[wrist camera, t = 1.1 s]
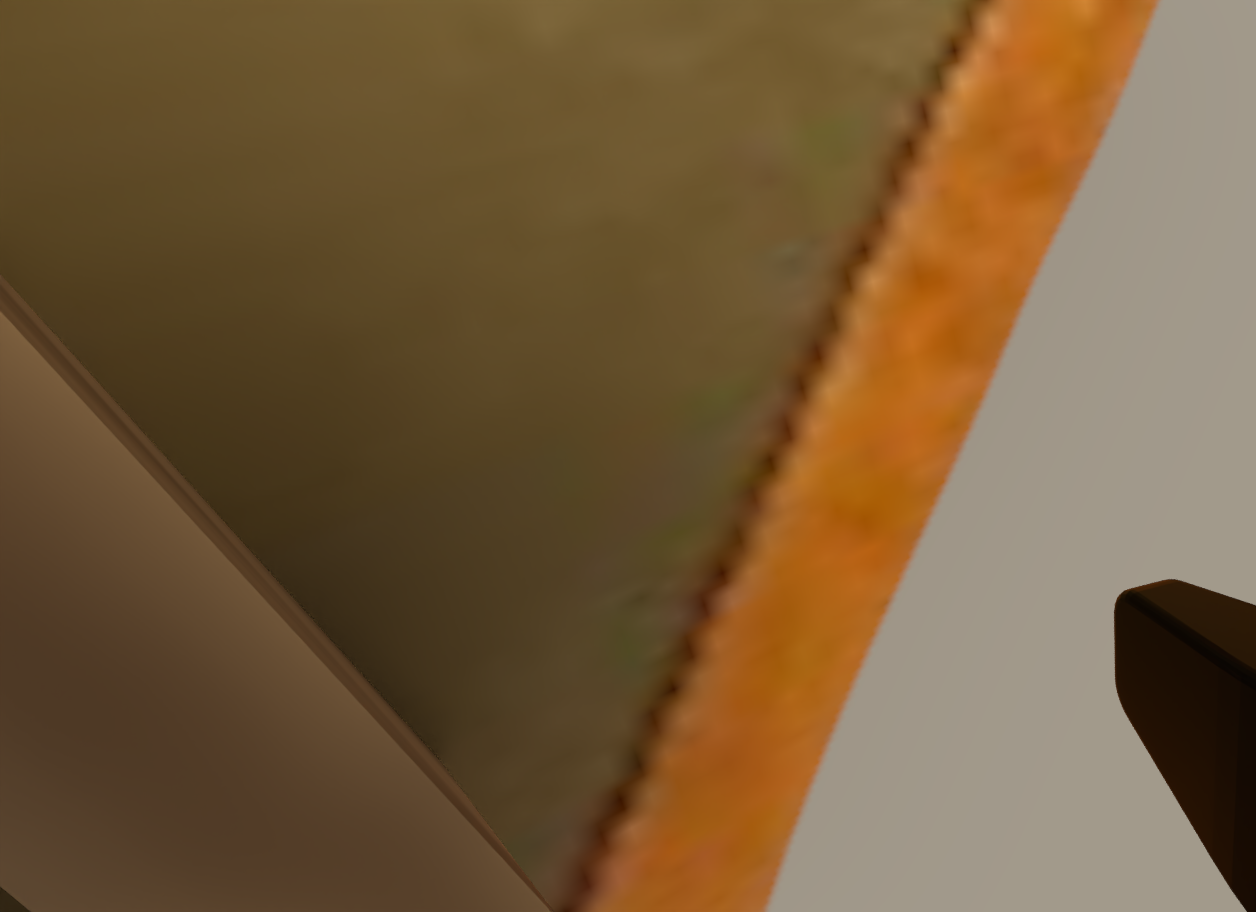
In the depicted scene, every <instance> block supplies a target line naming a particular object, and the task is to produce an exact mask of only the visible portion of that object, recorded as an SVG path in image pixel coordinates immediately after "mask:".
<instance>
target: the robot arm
mask: <svg viewBox="0 0 1256 912" xmlns="http://www.w3.org/2000/svg"><path fill="white" fill-rule="evenodd" d="M1114 636H1115V638H1114V639H1115V682H1116V689H1117V693H1118V697H1119V700H1120V702H1121V705H1122V707H1123V710H1124V712H1125V713H1126V715H1127V717H1128V718H1129V721H1130V722H1131V724H1132V726H1133V727H1134V729H1135V730H1136V732H1137V734H1138V736H1139V737H1140V739H1141V741H1142V742H1143V744H1144V746H1145V747H1146V749H1147V751H1148V753H1149V754H1150V756H1151V758H1152V759H1153V761H1154V762H1155V764H1156V766H1157V768H1158V769H1159V771H1160V773H1161V774H1162V776H1163V778H1164V779H1165V781H1166V783H1167V784H1168V786H1169V788H1170V789H1171V791H1172V793H1173V795H1174V796H1175V798H1176V799H1177V801H1178V803H1179V805H1180V806H1181V808H1182V810H1183V811H1184V813H1185V815H1186V816H1187V818H1188V820H1189V821H1190V823H1191V825H1192V826H1193V828H1194V830H1195V832H1196V833H1197V834H1198V836H1199V838H1200V840H1201V842H1202V843H1203V845H1204V847H1205V848H1206V850H1207V852H1208V853H1209V855H1210V857H1211V858H1212V860H1213V862H1214V863H1215V865H1216V866H1217V868H1218V869H1219V871H1220V873H1221V874H1222V876H1223V877H1224V879H1225V881H1226V882H1227V884H1228V885H1229V887H1230V889H1231V890H1232V892H1233V893H1234V894H1235V895H1236V897H1237V899H1238V900H1239V901H1240V903H1241V904H1242V905H1243V907H1244V908H1245V910H1246V911H1247V912H1256V605H1253V604H1250V603H1247V602H1244V601H1241V600H1238V599H1235V598H1232V597H1229V596H1226V595H1223V594H1220V593H1217V592H1214V591H1211V590H1208V589H1205V588H1202V587H1199V586H1195V585H1192V584H1189V583H1186V582H1183V581H1180V580H1175V579H1168V580H1162V581H1159V582H1154V583H1150V584H1147V585H1143V586H1139V587H1135V588H1131V589H1127V590H1125V591H1123V592H1122V593H1121V594H1120V595H1119V596H1118V598H1117V600H1116V603H1115V610H1114Z"/></svg>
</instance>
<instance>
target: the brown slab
mask: <svg viewBox="0 0 1256 912" xmlns="http://www.w3.org/2000/svg"><path fill="white" fill-rule="evenodd" d="M0 887H1V888H3V889H4V890H5V891H6V892H8V893H9V894H10V895H11V896H12V897H14V898H15V899H16V900H17V901H18V902H20V903H21V904H22V905H23V906H24V907H26V908H27V909H28V910H29V911H31V912H554V911H553V910H552V909H551V907H550V906H549V905H548V904H547V902H546V901H545V900H544V898H543V897H542V896H541V894H540V893H539V892H538V890H537V889H536V888H535V886H534V885H533V884H532V882H531V881H530V880H529V878H528V877H527V876H526V874H525V873H524V872H523V870H522V869H521V868H520V866H519V865H518V864H517V862H516V861H515V860H514V858H513V857H512V856H511V854H510V853H509V852H508V850H507V849H506V848H505V847H504V845H503V844H502V843H501V841H500V840H499V839H498V837H497V836H496V835H495V833H494V832H493V831H492V829H491V828H490V827H489V825H488V824H487V823H486V821H485V820H484V819H483V817H482V816H481V815H480V813H479V812H478V811H477V809H476V808H475V807H474V805H473V804H472V803H471V801H470V800H469V799H468V797H467V796H466V795H465V793H464V792H463V791H462V790H461V788H460V787H459V786H458V784H457V783H456V782H455V780H454V779H453V778H452V776H451V775H450V774H449V772H448V771H447V770H446V768H445V767H444V766H443V764H442V763H441V762H440V760H439V759H438V758H437V757H436V756H435V755H434V754H433V753H432V752H431V750H430V749H429V748H428V747H427V746H426V745H425V744H424V743H423V742H422V740H421V739H420V738H419V737H418V736H417V735H416V734H415V733H414V732H413V731H412V729H411V728H410V727H409V726H408V725H407V724H406V723H405V722H404V721H403V719H402V718H401V717H400V716H399V715H398V714H397V713H396V712H395V711H394V709H393V708H392V707H391V706H390V705H389V704H388V703H387V702H386V701H385V700H384V698H383V697H382V696H381V695H380V694H379V693H378V692H377V691H376V690H375V688H374V687H373V686H372V685H371V684H370V683H369V682H368V681H367V680H366V678H365V677H364V676H363V675H362V674H361V673H360V672H359V671H358V670H357V668H356V667H355V666H354V665H353V664H352V663H351V662H350V661H349V660H348V659H347V657H346V656H345V655H344V654H343V653H342V652H341V651H340V650H339V649H338V647H337V646H336V645H335V644H334V643H333V642H332V641H331V640H330V639H329V637H328V636H327V635H326V634H325V633H324V632H323V631H322V630H321V629H320V628H319V626H318V625H317V624H316V623H315V622H314V621H313V620H312V619H311V618H310V616H309V615H308V614H307V613H306V612H305V611H304V610H303V609H302V608H301V606H300V605H299V604H298V603H297V602H296V601H295V600H294V599H293V598H292V597H291V595H290V594H289V593H288V592H287V591H286V590H285V589H284V588H283V587H282V585H281V584H280V583H279V582H278V581H277V580H276V579H275V578H274V577H273V575H272V574H271V573H270V572H269V571H268V570H267V569H266V568H265V567H264V566H263V564H262V563H261V562H260V561H259V560H258V559H257V558H256V557H255V556H254V554H253V553H252V552H251V551H250V550H249V549H248V548H247V547H246V546H245V544H244V543H243V542H242V541H241V540H240V539H239V538H238V537H237V536H236V535H235V533H234V532H233V531H232V530H231V529H230V528H229V527H228V526H227V525H226V523H225V522H224V521H223V520H222V519H221V518H220V517H219V516H218V515H217V513H216V512H215V511H214V510H213V509H212V508H211V507H210V506H209V505H208V504H207V502H206V501H205V500H204V499H203V498H202V497H201V496H200V495H199V494H198V492H197V491H196V490H195V489H194V488H193V487H192V486H191V485H190V484H189V482H188V481H187V480H186V479H185V478H184V477H183V476H182V475H181V474H180V473H179V471H178V470H177V469H176V468H175V467H174V466H173V465H172V464H171V463H170V461H169V460H168V459H167V458H166V457H165V456H164V455H163V454H162V453H161V451H160V450H159V449H158V448H157V447H156V446H155V445H154V444H153V443H152V442H151V440H150V439H149V438H148V437H147V436H146V435H145V434H144V433H143V432H142V430H141V429H140V428H139V427H138V426H137V425H136V424H135V423H134V422H133V420H132V419H131V418H130V417H129V416H128V415H127V414H126V413H125V412H124V411H123V409H122V408H121V407H120V406H119V405H118V404H117V403H116V402H115V401H114V399H113V398H112V397H111V396H110V395H109V394H108V393H107V392H106V391H105V389H104V388H103V387H102V386H101V385H100V384H99V383H98V382H97V381H96V380H95V378H94V377H93V376H92V375H91V374H90V373H89V372H88V371H87V370H86V368H85V367H84V366H83V365H82V364H81V363H80V362H79V361H78V360H77V358H76V357H75V356H74V355H73V354H72V353H71V352H70V351H69V350H68V349H67V347H66V346H65V345H64V344H63V343H62V342H61V341H60V340H59V339H58V337H57V336H56V335H55V334H54V333H53V332H52V331H51V330H50V329H49V327H48V326H47V325H46V324H45V323H44V322H43V321H42V320H41V319H40V318H39V316H38V315H37V314H36V313H35V312H34V311H33V310H32V309H31V308H30V306H29V305H28V304H27V303H26V302H25V301H24V300H23V299H22V298H21V296H20V295H19V294H18V293H17V292H16V291H15V290H14V289H13V288H12V287H11V285H10V284H9V283H8V282H7V281H6V280H5V279H4V278H3V277H2V275H1V274H0Z"/></svg>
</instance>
